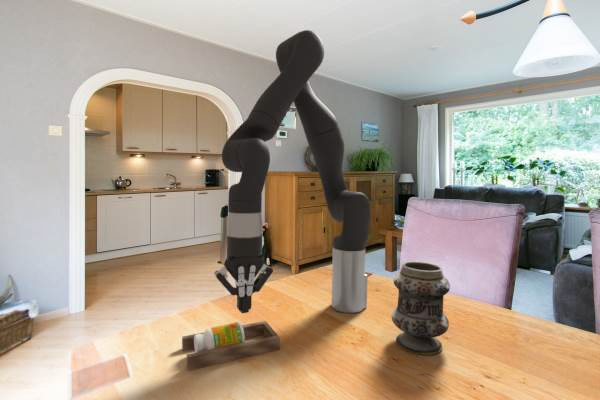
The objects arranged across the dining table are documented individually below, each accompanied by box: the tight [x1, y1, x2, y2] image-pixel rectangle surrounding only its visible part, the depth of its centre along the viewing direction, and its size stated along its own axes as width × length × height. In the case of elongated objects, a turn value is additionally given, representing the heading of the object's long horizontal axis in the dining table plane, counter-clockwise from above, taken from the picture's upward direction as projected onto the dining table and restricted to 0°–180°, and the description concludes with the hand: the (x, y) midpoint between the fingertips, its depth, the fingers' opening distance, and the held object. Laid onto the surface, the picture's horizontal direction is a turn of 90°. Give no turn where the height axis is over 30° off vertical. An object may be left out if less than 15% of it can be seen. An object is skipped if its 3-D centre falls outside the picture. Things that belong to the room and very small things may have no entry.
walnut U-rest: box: [181, 320, 281, 372], centre depth 71 cm, size 19×9×3 cm, turn 116°
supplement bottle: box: [194, 321, 246, 353], centre depth 69 cm, size 5×5×10 cm
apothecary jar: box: [391, 260, 451, 356], centre depth 74 cm, size 12×12×18 cm
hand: (243, 311), depth 72 cm, fingers closed
